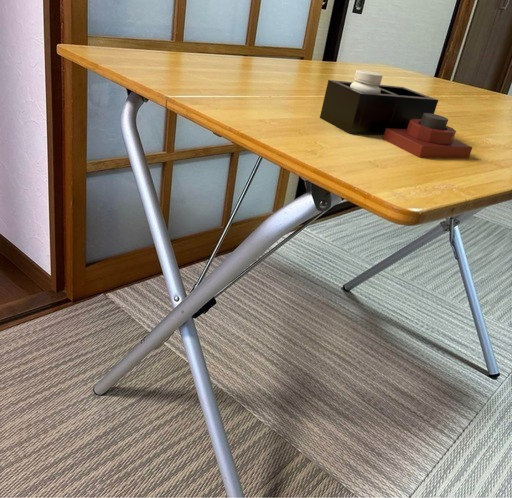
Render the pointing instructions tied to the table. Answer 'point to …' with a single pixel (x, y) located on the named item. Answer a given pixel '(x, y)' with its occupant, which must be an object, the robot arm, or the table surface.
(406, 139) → the panel
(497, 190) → the table surface
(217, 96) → the table surface
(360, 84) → the pill bottle
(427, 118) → the button
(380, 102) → the black divided box
